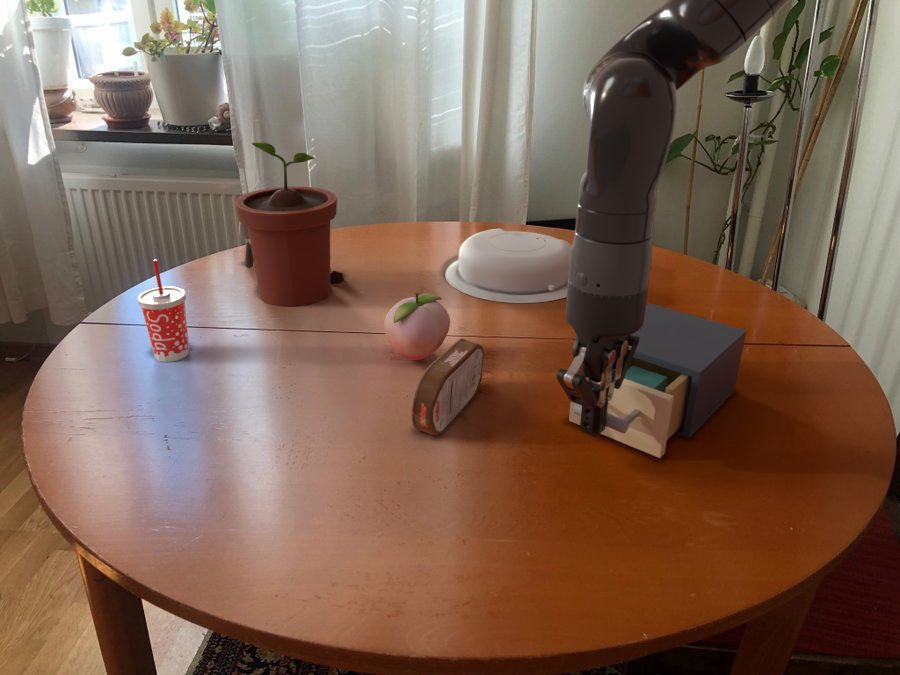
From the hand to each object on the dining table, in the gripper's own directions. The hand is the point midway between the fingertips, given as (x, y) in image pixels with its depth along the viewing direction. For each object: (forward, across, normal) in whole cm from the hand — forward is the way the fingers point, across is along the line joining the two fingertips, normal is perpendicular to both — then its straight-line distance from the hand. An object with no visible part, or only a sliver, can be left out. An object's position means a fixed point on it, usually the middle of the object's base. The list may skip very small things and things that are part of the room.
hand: (592, 430), depth 78 cm
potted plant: (+5, +13, +65) cm, 67 cm away
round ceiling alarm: (+5, +42, +39) cm, 57 cm away
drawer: (+4, +10, 0) cm, 10 cm away
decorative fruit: (+5, +7, +31) cm, 32 cm away
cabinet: (+5, +18, 0) cm, 19 cm away
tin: (+5, -1, +18) cm, 19 cm away
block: (+3, +11, 0) cm, 11 cm away
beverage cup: (+5, -14, +58) cm, 60 cm away
